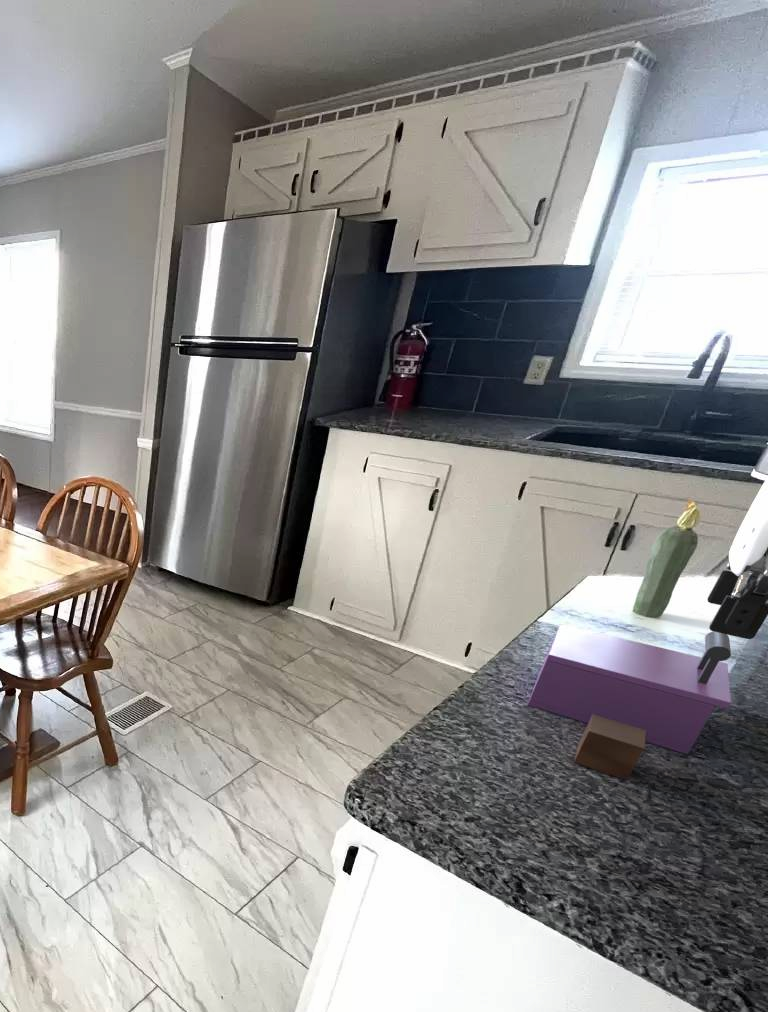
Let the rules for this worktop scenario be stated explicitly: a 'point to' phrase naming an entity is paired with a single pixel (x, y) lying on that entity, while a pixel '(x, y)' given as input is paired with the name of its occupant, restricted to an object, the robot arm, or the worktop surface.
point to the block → (610, 747)
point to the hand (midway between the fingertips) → (727, 619)
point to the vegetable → (667, 564)
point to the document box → (620, 704)
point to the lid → (649, 663)
